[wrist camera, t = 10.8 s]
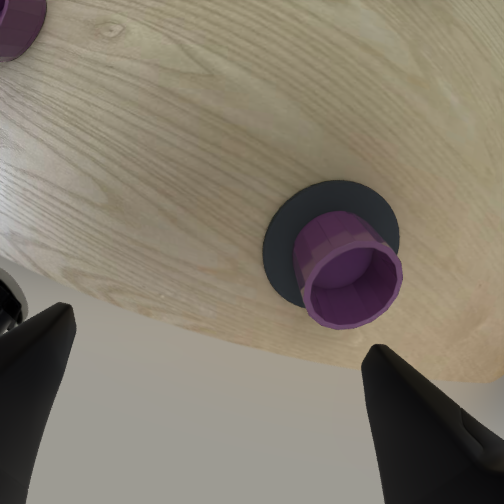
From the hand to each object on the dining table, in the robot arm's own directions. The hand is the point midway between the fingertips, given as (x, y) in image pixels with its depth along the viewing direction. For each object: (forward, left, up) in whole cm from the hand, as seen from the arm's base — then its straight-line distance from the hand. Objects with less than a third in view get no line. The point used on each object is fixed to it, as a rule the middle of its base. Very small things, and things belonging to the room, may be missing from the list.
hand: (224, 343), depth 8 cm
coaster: (+2, -7, -12) cm, 14 cm away
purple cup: (+2, -7, -12) cm, 14 cm away
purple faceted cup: (-1, +22, -12) cm, 25 cm away
